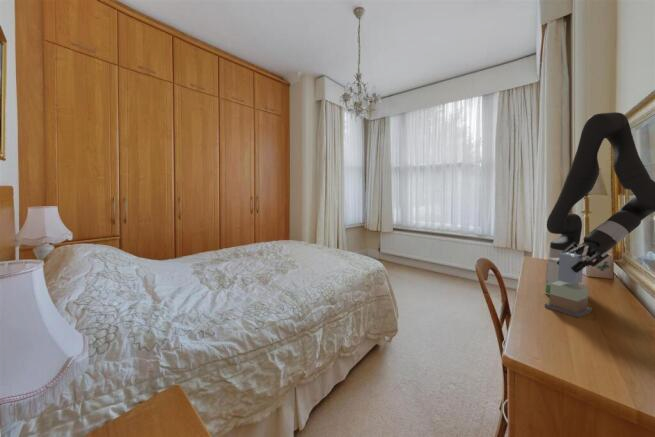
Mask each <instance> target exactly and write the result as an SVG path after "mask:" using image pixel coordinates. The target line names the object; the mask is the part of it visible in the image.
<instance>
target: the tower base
mask: <svg viewBox="0 0 655 437" xmlns="http://www.w3.org/2000/svg"><path fill="white" fill-rule="evenodd" d="M588 299H589V286H588V285H584V284H580V283H578V284H572V283H567V282H563V281H557V282H554V283H551V287H550V295H549V301H548V302H545V303H544V308H547V309H550V310H553V311H556V312H559V313H563V314H565V315H569V316H571V317H572V316H573V317H574V318H579V319H580V318H582V317H583V316H586V315H587V314H589V313H591V312H592V311H593V310H592V309H593V308H592V307H589V306H588Z"/></svg>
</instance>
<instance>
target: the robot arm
mask: <svg viewBox="0 0 655 437" xmlns="http://www.w3.org/2000/svg"><path fill="white" fill-rule="evenodd" d="M605 139H606V140H607V141H608V142H609V143H610V145H611V147H612V149H613V171H614V173H615V175H616V177H617V179H618V181H619V183H620V185H621V186H622V188H623V189H624V190H629V191H631V193H632V194H633V195H634V197H632V198H631V199H629V200H628V201H627V202H626V203H624V204H623V206H622V207H620V209H618V211H617V212H615V213H613V215H611V216H610V217H609V218H607V219H606V220H605V221H603V222H602V223H600V224H599V225H598V226H596V227H595V228H593V229H592V230H591V231H589V232H588V234H586V235H585V236H584V237H583V242H581V237H582V230H583V222H582V221H583V220H582V218H581V216H579V215H578V214H577V213H570V212H571V210H572V209H573V207H574V206H575V205H576V204H577V203H579V202H580V201H581V200H583V198H584V197H586V196H587V195H588V194H590V192H592V190H593V188H594V186H595V185H596V182H597V180H598V178H599V176H600V164H599V159H598V158H599V157H598V154H599V150H600V149H601V145H602V144H603V141H604V140H605ZM653 213H655V181H654V180H653V179H652V178H651V176H650V174H649V172H648V170H647V168H646V166H645V165H644V163H643V161H642V159H641V157H640V156H639V152H638V150H637V147H636V144H635V139H634V137H633V133H632V129H631V126H630V123H629V120H628V117H627V116H626V115H625V114H624V113H621V112H602V113H596V114H595V113H594V114H593V115H592V116H590V117H589V118H587V119H586V121H585V122H584V125H583V128H582V131H581V133H580V137H579V141H578V145H577V149H576V151H575V155H574V158H573V160H572V163H571V166H570V168H569V170H568V173H567V176H566V178H565V180H564V184H563V186H562V188H561V192H560V193H559V196H558V198H557V200H556V202H555V204H554V206H553V207H552V210H551V211H550V213H549V216H548V218H547V221H546V229H547V231H548V232H549V233H550V234H555V235H561V236H560V237H558V238H557V239H554V240H552V241H551V242H550V245H549V257H548V258H559V257H560V254H561V253H565V252H568V253H575V254H581V255H582V259H581V261H579V262H578V263H577V264H575V265H574V266H573V267H571V269H572V270H573V271H574V272H576V273H578V272H579V271H581V270H582V269H583V270H584V269H585V268H586V267H589V266H591V267H596V266H598V265H599V264H600V263H601V262H602V261H604V260H605V259H606V258H608V257H609V254H608V252H609V251H610V250H611V249H613V248H614V247H615V246H616V245H617V244H619V243H620V242H621V241H623V240H624V239H625V238H626V237H627V236H628V235H629V234H631V233H632V232H633V231H634V230H636V229H637V228H638V227H639V226H640V225H641V223H642V221H643V220H644V219H646V218H647V217H648V216H650V215H652V214H653ZM557 264H558V265H559V260H558V261H557ZM547 267H548V262H547V263H546V270H545V278H546V277H547Z"/></svg>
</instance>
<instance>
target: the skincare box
mask: <svg viewBox="0 0 655 437" xmlns="http://www.w3.org/2000/svg"><path fill="white" fill-rule="evenodd" d="M558 260H559V258H549V257H548V258H547V263H548V267H547V266H546V268H547V277H546V276H545V286H544V287H545V288H544V294H545V295H548V296H550V287H551V283H554V282H557V281H559V280H558V272H559V265H558V264H557V261H558ZM577 284H579V283H577Z"/></svg>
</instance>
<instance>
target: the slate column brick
mask: <svg viewBox="0 0 655 437" xmlns="http://www.w3.org/2000/svg"><path fill="white" fill-rule="evenodd" d="M581 259H582V255H581V254H575V253H568V252H565V253H561V254H560V257H559V272H558V280H559V281H563V282H567V283H572V284H577V283H578V284H580V283H582V282H583V281H582V280H583V270H584V268H583V269H582V270H581V271H579V272H578V273H576V272H574V271H573V270H572V269H571V267H573V266H574V265H575V264H577V263H578V262H579V261H581Z"/></svg>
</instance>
